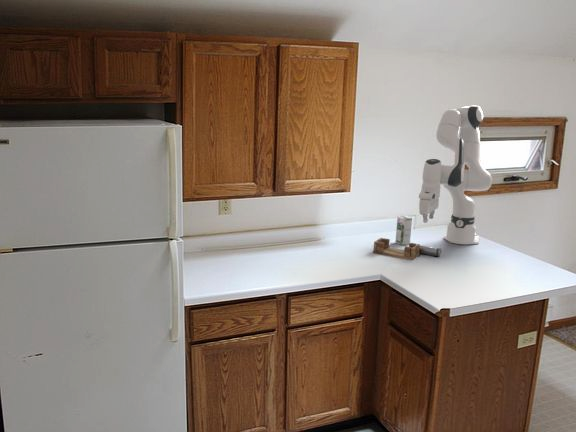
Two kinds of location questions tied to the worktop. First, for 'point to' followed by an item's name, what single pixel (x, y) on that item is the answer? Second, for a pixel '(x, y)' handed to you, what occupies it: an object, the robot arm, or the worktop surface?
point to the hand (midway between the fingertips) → (428, 220)
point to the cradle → (408, 253)
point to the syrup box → (403, 230)
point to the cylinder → (430, 251)
